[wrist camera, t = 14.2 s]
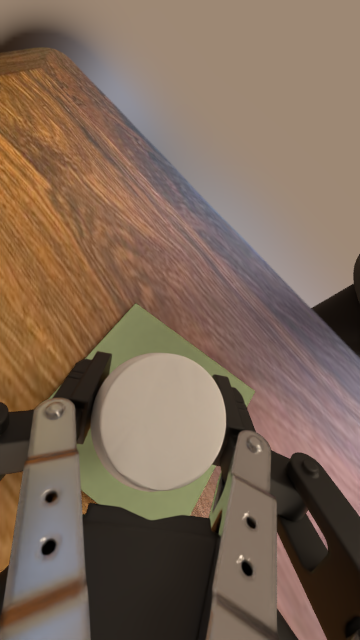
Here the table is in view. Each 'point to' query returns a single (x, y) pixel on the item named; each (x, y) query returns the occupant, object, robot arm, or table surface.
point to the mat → (123, 343)
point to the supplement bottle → (158, 422)
